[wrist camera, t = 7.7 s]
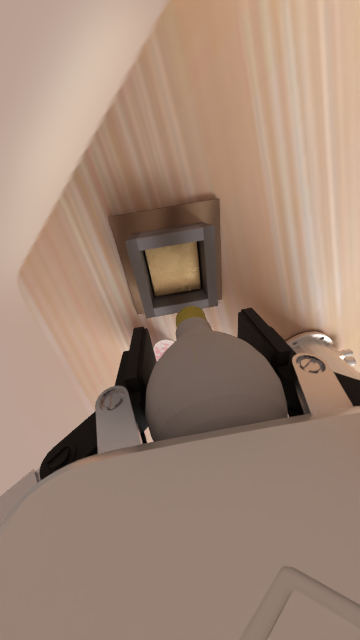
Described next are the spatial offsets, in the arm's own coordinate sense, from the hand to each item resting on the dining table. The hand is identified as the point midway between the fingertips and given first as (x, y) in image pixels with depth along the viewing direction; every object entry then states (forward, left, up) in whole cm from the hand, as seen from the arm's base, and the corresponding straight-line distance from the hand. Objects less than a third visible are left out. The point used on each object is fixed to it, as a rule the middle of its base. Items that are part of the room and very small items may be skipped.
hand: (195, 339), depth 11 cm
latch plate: (0, 0, -16) cm, 16 cm away
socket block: (0, 0, -19) cm, 19 cm away
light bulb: (0, 0, -3) cm, 3 cm away
